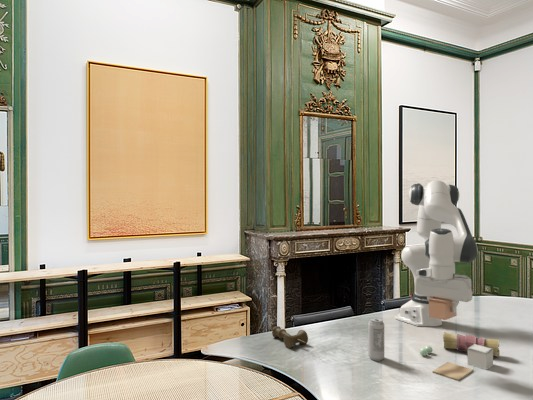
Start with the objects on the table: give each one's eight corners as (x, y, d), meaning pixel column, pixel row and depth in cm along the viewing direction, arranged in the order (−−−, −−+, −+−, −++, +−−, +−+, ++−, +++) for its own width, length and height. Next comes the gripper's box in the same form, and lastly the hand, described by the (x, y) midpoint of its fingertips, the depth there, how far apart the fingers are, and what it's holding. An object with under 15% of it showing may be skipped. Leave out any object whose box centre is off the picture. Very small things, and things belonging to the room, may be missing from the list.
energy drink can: (380, 354, 156) (379, 316, 156) (387, 360, 150) (387, 321, 150) (365, 355, 155) (365, 317, 155) (372, 361, 149) (372, 322, 149)
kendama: (284, 335, 180) (314, 347, 164) (267, 340, 175) (297, 353, 159) (283, 322, 181) (314, 333, 165) (267, 327, 175) (296, 338, 159)
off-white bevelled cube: (467, 364, 147) (467, 348, 147) (474, 359, 151) (474, 343, 151) (486, 369, 142) (486, 353, 142) (493, 364, 147) (493, 348, 147)
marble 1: (418, 355, 155) (418, 348, 155) (422, 353, 157) (421, 346, 157) (425, 357, 153) (425, 350, 153) (429, 355, 155) (429, 348, 155)
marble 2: (423, 353, 158) (422, 345, 158) (426, 351, 160) (426, 343, 160) (430, 355, 156) (430, 347, 156) (433, 353, 158) (433, 345, 158)
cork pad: (432, 372, 140) (432, 371, 140) (447, 363, 148) (447, 361, 148) (458, 381, 133) (458, 379, 133) (473, 371, 141) (473, 369, 141)
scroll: (499, 349, 158) (445, 340, 168) (499, 335, 155) (444, 326, 166) (499, 363, 152) (443, 353, 162) (499, 348, 149) (442, 339, 160)
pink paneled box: (429, 316, 145) (428, 299, 145) (440, 312, 151) (440, 295, 151) (445, 320, 140) (444, 301, 141) (456, 315, 146) (455, 298, 147)
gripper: (475, 274, 140) (475, 313, 140) (420, 268, 156) (421, 304, 155) (467, 276, 136) (468, 317, 136) (412, 270, 152) (413, 306, 151)
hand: (442, 310), depth 146 cm, fingers closed on pink paneled box, 6 cm apart
